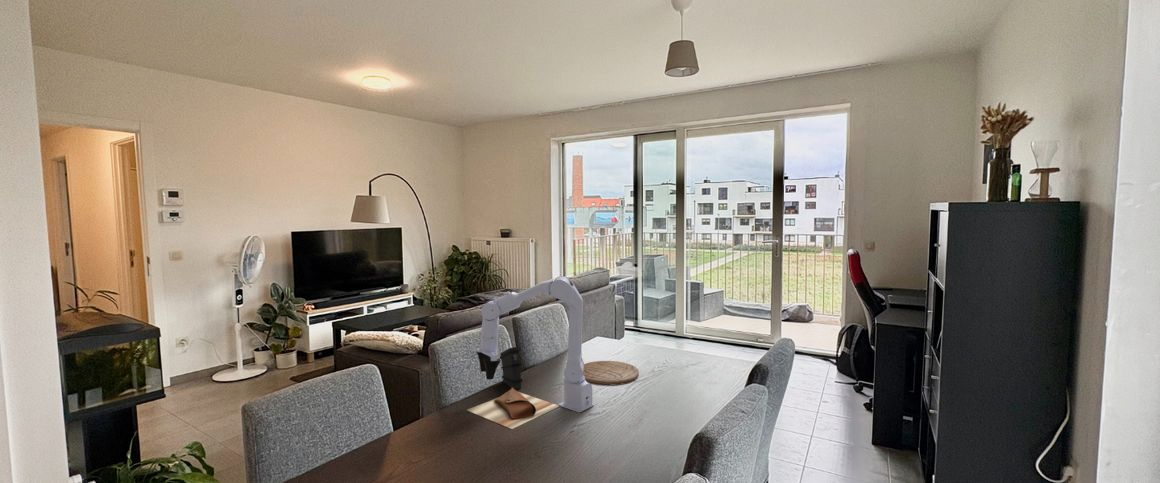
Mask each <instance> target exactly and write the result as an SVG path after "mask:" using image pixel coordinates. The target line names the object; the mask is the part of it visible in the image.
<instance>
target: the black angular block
mask: <svg viewBox="0 0 1160 483" xmlns="http://www.w3.org/2000/svg"><path fill="white" fill-rule="evenodd" d="M519 352H520V349H518V346H513V347H509V348H507V349H505V350H504V351H502V352H501V353H499V354H500V356H499V359H500V360H501V366H500V369H502V375H501V378H502V381H503V383H504V384H506V385H507V386H508V387H510V389H512V388H514V389H515V390H516V391H517V390H520V389H521V388H522V382H523V378H522V374H521V367H522V363H521V362H520V356H519Z"/></svg>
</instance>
